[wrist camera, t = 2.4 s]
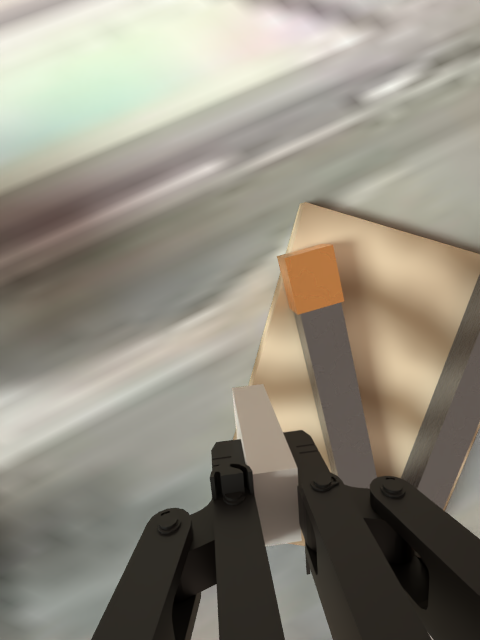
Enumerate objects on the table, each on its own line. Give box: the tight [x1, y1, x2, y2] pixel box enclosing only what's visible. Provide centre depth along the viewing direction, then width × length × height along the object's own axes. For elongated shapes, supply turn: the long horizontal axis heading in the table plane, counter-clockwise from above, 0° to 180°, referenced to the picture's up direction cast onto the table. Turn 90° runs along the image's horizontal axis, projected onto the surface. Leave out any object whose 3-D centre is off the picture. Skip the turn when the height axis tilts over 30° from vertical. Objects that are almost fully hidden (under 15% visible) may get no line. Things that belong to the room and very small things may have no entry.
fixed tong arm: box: [401, 274, 480, 509], centre depth 31 cm, size 26×3×2 cm, turn 165°
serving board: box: [233, 202, 480, 546], centre depth 32 cm, size 28×20×2 cm
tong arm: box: [277, 244, 377, 489], centre depth 29 cm, size 27×4×3 cm, turn 15°
